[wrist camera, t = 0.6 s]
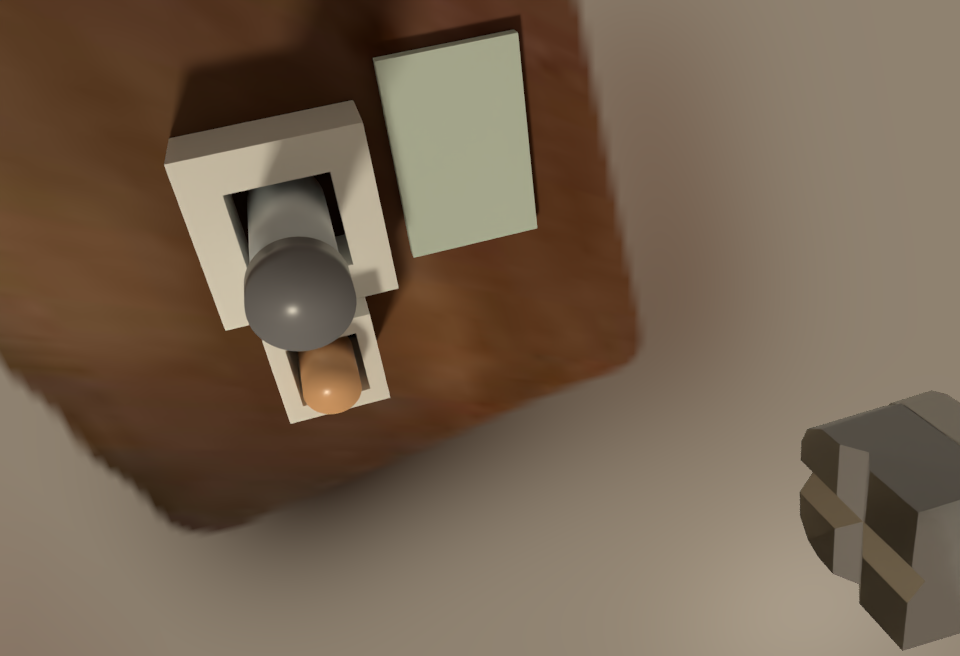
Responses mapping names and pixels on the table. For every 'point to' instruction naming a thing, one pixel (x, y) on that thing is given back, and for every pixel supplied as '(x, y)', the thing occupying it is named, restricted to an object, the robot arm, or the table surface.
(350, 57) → the table surface
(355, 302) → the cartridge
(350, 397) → the release button
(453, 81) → the mat
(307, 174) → the housing
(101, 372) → the table surface
